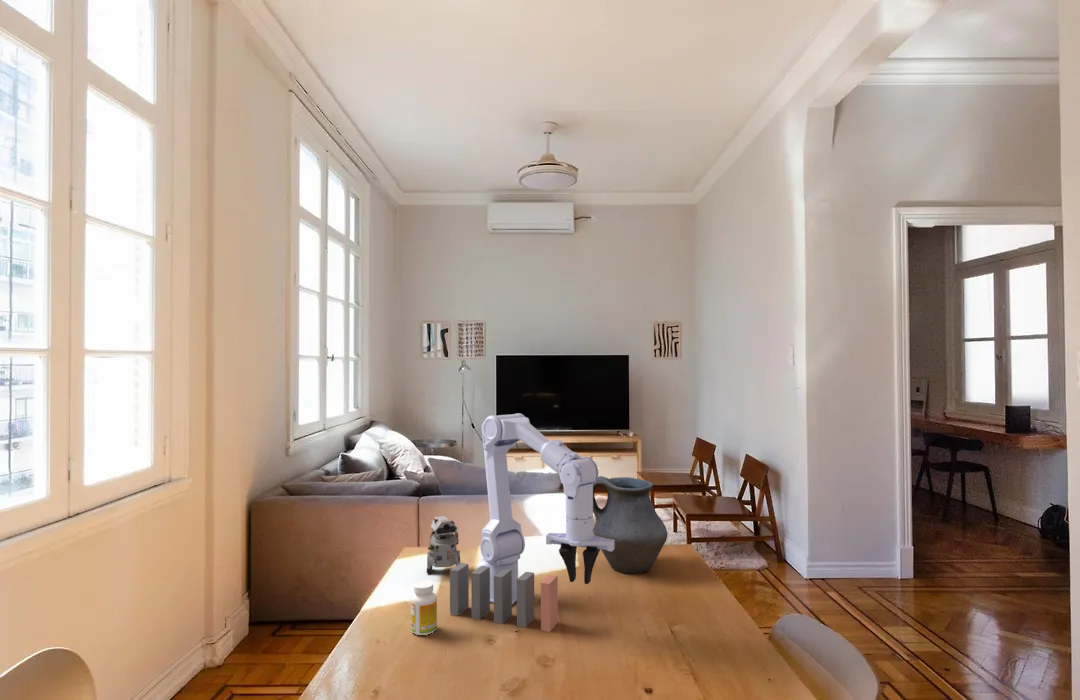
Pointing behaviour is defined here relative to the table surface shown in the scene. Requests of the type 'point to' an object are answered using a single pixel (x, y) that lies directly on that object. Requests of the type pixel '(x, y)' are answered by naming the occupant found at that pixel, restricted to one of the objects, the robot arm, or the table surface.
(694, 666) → the table surface
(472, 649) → the table surface
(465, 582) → the domino
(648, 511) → the pitcher
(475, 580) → the domino
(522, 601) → the domino
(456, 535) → the figurine
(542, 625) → the red domino
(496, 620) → the domino
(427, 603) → the supplement bottle
